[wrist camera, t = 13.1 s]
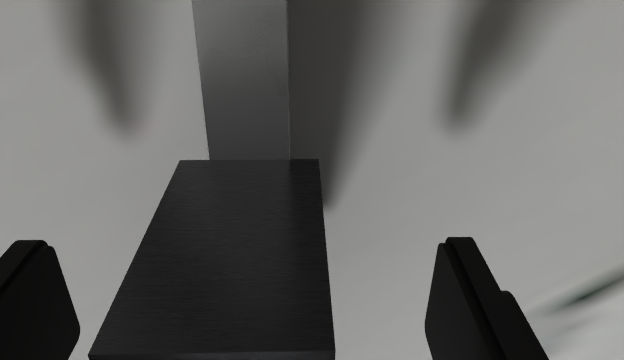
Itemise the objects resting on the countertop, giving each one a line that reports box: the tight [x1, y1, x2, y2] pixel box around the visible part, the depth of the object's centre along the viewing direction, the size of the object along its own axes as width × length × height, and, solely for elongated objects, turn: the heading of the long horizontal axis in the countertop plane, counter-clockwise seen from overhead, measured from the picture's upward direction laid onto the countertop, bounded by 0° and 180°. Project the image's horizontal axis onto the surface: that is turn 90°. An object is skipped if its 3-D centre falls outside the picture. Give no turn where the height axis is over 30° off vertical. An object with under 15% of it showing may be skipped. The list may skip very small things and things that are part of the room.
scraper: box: [88, 0, 335, 360], centre depth 12 cm, size 4×24×8 cm, turn 0°
